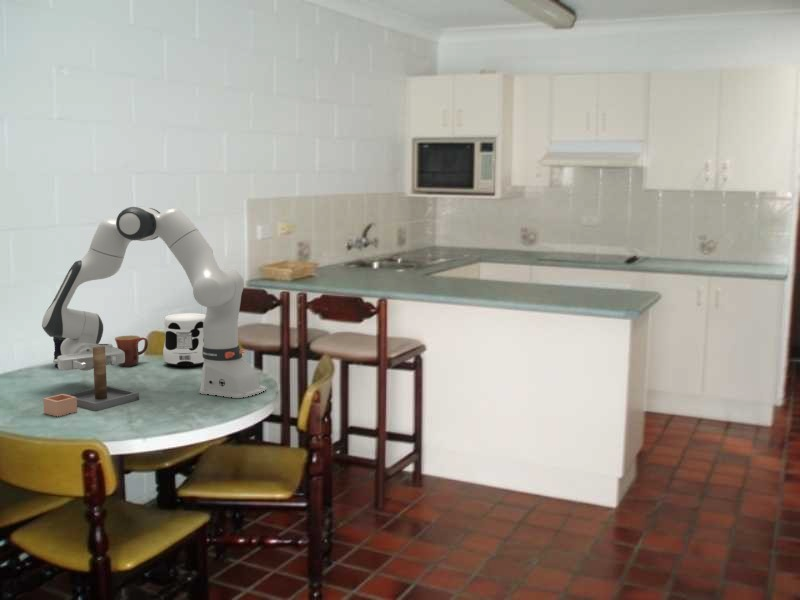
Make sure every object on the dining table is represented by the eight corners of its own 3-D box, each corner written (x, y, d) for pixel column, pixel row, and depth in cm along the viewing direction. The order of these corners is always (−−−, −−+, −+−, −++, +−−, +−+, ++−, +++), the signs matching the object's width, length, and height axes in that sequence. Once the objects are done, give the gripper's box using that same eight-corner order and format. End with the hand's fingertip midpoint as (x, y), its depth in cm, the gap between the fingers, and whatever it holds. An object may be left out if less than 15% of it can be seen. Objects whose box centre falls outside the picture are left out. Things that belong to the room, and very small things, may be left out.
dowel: (109, 397, 267) (107, 347, 264) (99, 400, 264) (97, 349, 261) (102, 395, 269) (100, 345, 266) (92, 397, 266) (90, 347, 263)
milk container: (194, 357, 330) (193, 310, 327) (220, 364, 318) (219, 316, 315) (154, 364, 317) (152, 316, 315) (179, 371, 305) (178, 322, 303)
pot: (77, 411, 254) (76, 397, 254) (57, 416, 249) (56, 401, 248) (63, 408, 258) (62, 393, 257) (43, 413, 252) (43, 398, 252)
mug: (121, 368, 309) (120, 340, 308) (112, 364, 316) (111, 337, 314) (153, 364, 317) (152, 337, 315) (143, 360, 324) (142, 333, 322)
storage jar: (60, 370, 307) (58, 329, 304) (50, 365, 314) (48, 325, 311) (87, 366, 313) (85, 325, 311) (77, 361, 320) (75, 322, 318)
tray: (139, 399, 268) (138, 392, 268) (95, 410, 255) (95, 403, 255) (106, 391, 277) (105, 385, 277) (62, 402, 264) (62, 395, 264)
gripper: (51, 350, 269) (63, 358, 258) (116, 343, 281) (130, 350, 270) (52, 370, 270) (64, 378, 259) (116, 362, 282) (131, 370, 271)
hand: (98, 364), depth 265 cm, fingers open, 8 cm apart
